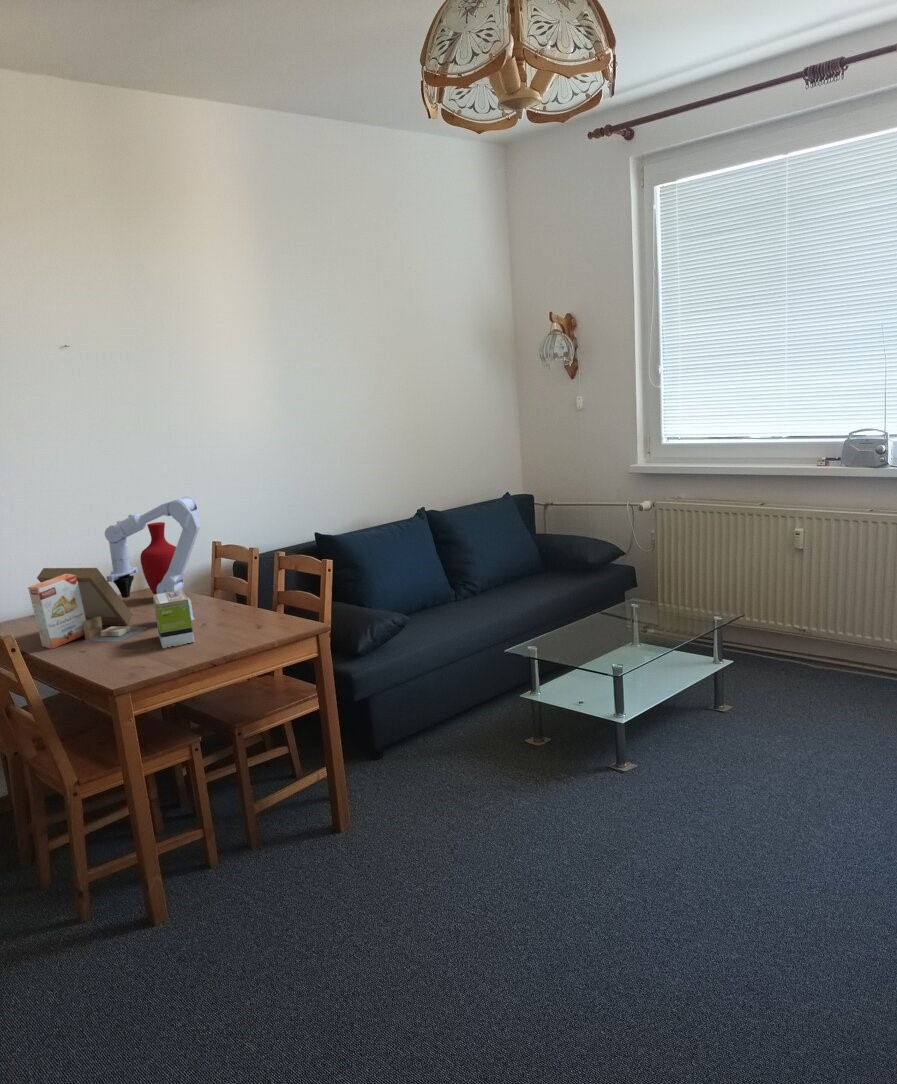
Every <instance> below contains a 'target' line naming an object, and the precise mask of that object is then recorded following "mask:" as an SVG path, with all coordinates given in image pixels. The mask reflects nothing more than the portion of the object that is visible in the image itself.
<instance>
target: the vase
mask: <svg viewBox="0 0 897 1084" xmlns="http://www.w3.org/2000/svg"><path fill="white" fill-rule="evenodd" d="M146 526H147V528H148V530H149V531H148V532H149V534H150V543H149V544H148V546H147V547H146V548H144V549H143V550H142V551H141V553H140V565H141V569H142V573H143V575H144V579H145V581H146V584H147V585H148V587H149V589H150V591H151V593H152V595H155V594H157V591H156V589H157V586H158V584H159V583H160V582H161V581H162V580H163V577H164V576H165V574H166V573H167V571H168V569H169V566H170V564H171V561H172V558H173V555H174V552H175V550H176V547H177V546H175V545H173V544H171V543H169V542H168V541H167V540H166V538H165V528H166V527H165V526H166V523H165V522H164V521H163V522H162V521H159V522H152V523H146Z"/></svg>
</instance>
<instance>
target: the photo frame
mask: <svg viewBox="0 0 897 1084" xmlns="http://www.w3.org/2000/svg"><path fill="white" fill-rule="evenodd" d="M63 574H72V575H76V576H77V581H78V585H79V590H80V594H81V599H82V604H83V608H84V613H85V617H86V621H87V620H89V619H91V618H94V617H96V616H101V621H102V625H114V626H115V625H117V626H120V625H121V626H124V625H125V626H126V625H128V626H129V623H130V622H131V619H132V618H133V616H134V614H133V613H132V612H131V610H130V609H129V608H128V606H127V605H126V604H125V602H124V600H122V599H121V597H120V595H118V594H117V592H116V591H115V589H114V588H113V586H112V585H111V584H110V583H109V582H107V578H105V576H104V575H103V574H102V572H101V571H100V570H99V569H98V567H58V568H57V567H55V568H54V567H43V568H42V570H41V571H40V573H39V574H38V575H37V577H36V579H37V580H38V581H39V583H41V582H44V581H47V580H50V579H52V578H55V577H58V576H61V575H63Z"/></svg>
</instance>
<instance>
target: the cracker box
mask: <svg viewBox="0 0 897 1084" xmlns="http://www.w3.org/2000/svg"><path fill="white" fill-rule="evenodd" d="M27 589H28V593H29V596H30V601H31V605H32V609H33V614H34V617H35V618H34V619H35V622H36V627H37V630H38V635H39V638H40V642H41V643H40V644H41V646H42V648H46V649H49V650H54V649H56V648H58V647H60V646H63V645H65V644H68V643H70V642H72V641H74V640H76V639H79V638H81V637H83V636H84V637H85V632H84V626H83V622H84V621H86V617H85V613H84V608H83V604H82V599H81V594H80V590H79V585H78V581H77V576H76V575H72V574H63V575H61V576H58V577H55V578H52V579H50V580H47V581H44V582H38V583H36V584H33V585H30V586H28V588H27ZM53 648H54V649H53Z"/></svg>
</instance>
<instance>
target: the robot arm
mask: <svg viewBox="0 0 897 1084" xmlns="http://www.w3.org/2000/svg"><path fill="white" fill-rule="evenodd" d="M163 516H166V517H170V516H171V518H173V519H174V520H175V521H176V522H177V523H178V525H180V527H181V528H182V529H181V530H182V531H181V533H180V536H179V539H178V541H177V544H176V546H175V547H176V550H175V552H174V555H173V558H172V561H171V564H170V566H169V569H168V571H167V573H166V574H165V576H164V577H163V580H162V581H161V582H160V583H159V584H158V586H157V589H156V591H157V594H161V593H167V592H173V591H179V590H183V591H184V588H185V583H184V579H185V578H186V576H185V569H186V568H187V564H188V561H189V558H190V556H191V553H192V551H193V548H194V545H195V543H196V539H197V537H198V534H199V531H200V528H201V524H200V518H199V506H198V505H197V503H196V501H195V500H194V498H192V497H190V496H183V497H180V498H178V499H174V500H172V501H171V500H170V501H168V502H164V503H162V504H160V505H158V506H156V507H155V508H152V509H151V510H148V511H147V512H145V513H144V514H139V513H130V514H129V515H128V517H127V518H125V519H122V520H118V521H116V524H112V525H111V524H110V525H109V526H108V527H106V529H105V530H104V536H105V539H106V540H107V541H108V545H109V550H110V551H109V553H110V558H111V565H112V571H110V574H109V575H106V580H107V582H108V583H109V582H110V583H111V582H113V584H115V586H116V587H117V589H118V591H119V593H120V595H121V598H123V599H125V598H127V599H128V598H130V594H131V587H132V583H133V581H134V578H135V576H134V575H133V574H134V573H139V570H138V569H139V568H138V566H131V561H130V555H129V554H130V553H129V547H128V540H127V539H128V537H131V536H132V535H135V534H137V533H138V532H141V531H143V530H144V529H145V528H146V526H147V524H149V522H152V521H154V520H157V519H158V518H161V517H163ZM187 598H188V601H189V608H190V615H191V621H193V620H195V617H194V612H193V606H192V601H191V599H190V598H189V597H187Z"/></svg>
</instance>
